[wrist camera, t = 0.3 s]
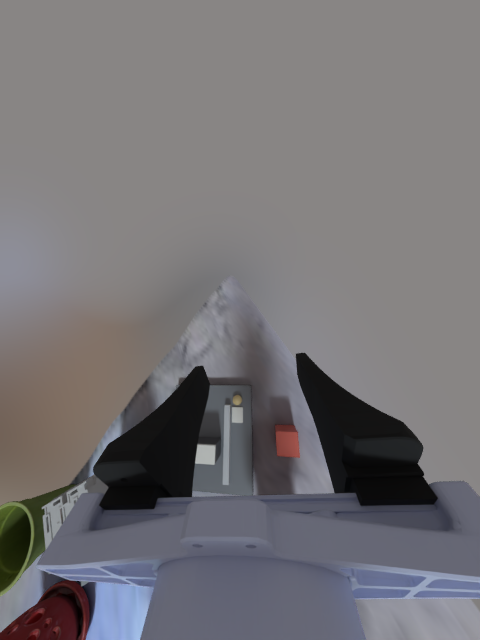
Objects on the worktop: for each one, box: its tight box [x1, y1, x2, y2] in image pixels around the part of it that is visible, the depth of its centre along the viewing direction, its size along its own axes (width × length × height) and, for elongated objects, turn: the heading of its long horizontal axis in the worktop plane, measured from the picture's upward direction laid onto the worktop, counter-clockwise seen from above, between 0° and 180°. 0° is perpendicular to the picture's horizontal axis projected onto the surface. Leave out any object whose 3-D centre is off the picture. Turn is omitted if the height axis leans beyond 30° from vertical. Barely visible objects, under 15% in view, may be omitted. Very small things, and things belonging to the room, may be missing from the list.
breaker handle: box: [195, 437, 221, 465], centre depth 35 cm, size 3×5×4 cm, turn 90°
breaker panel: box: [176, 385, 253, 496], centre depth 38 cm, size 20×18×3 cm
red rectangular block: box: [275, 425, 300, 458], centre depth 35 cm, size 4×4×5 cm
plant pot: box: [0, 484, 76, 596], centre depth 34 cm, size 12×12×11 cm
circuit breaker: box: [42, 474, 108, 587], centre depth 31 cm, size 8×14×15 cm, turn 30°
